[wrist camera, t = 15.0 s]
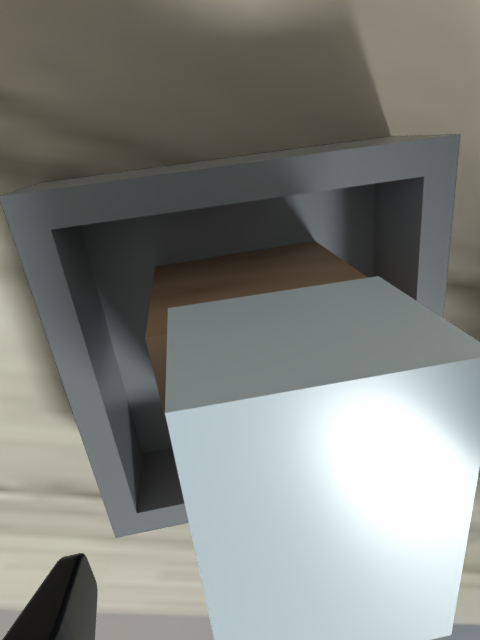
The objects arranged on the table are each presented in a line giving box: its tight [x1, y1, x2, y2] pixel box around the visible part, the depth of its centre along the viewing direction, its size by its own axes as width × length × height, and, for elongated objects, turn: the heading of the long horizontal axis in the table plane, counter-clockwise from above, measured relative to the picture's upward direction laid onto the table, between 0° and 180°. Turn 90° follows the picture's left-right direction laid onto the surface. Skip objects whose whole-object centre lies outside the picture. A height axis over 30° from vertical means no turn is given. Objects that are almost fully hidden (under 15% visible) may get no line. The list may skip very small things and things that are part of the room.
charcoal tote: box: [0, 134, 460, 538], centre depth 15 cm, size 12×12×4 cm
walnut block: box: [145, 241, 368, 458], centre depth 14 cm, size 6×6×6 cm
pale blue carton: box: [165, 276, 480, 640], centre depth 9 cm, size 7×5×4 cm
